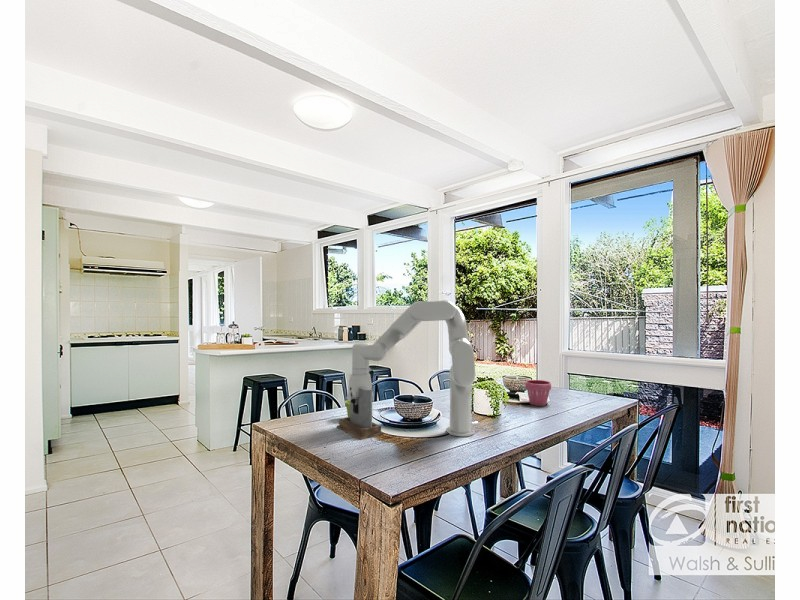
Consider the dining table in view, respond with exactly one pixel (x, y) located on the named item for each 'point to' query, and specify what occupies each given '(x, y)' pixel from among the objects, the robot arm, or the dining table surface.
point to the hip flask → (362, 409)
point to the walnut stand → (359, 429)
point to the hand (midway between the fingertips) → (360, 411)
